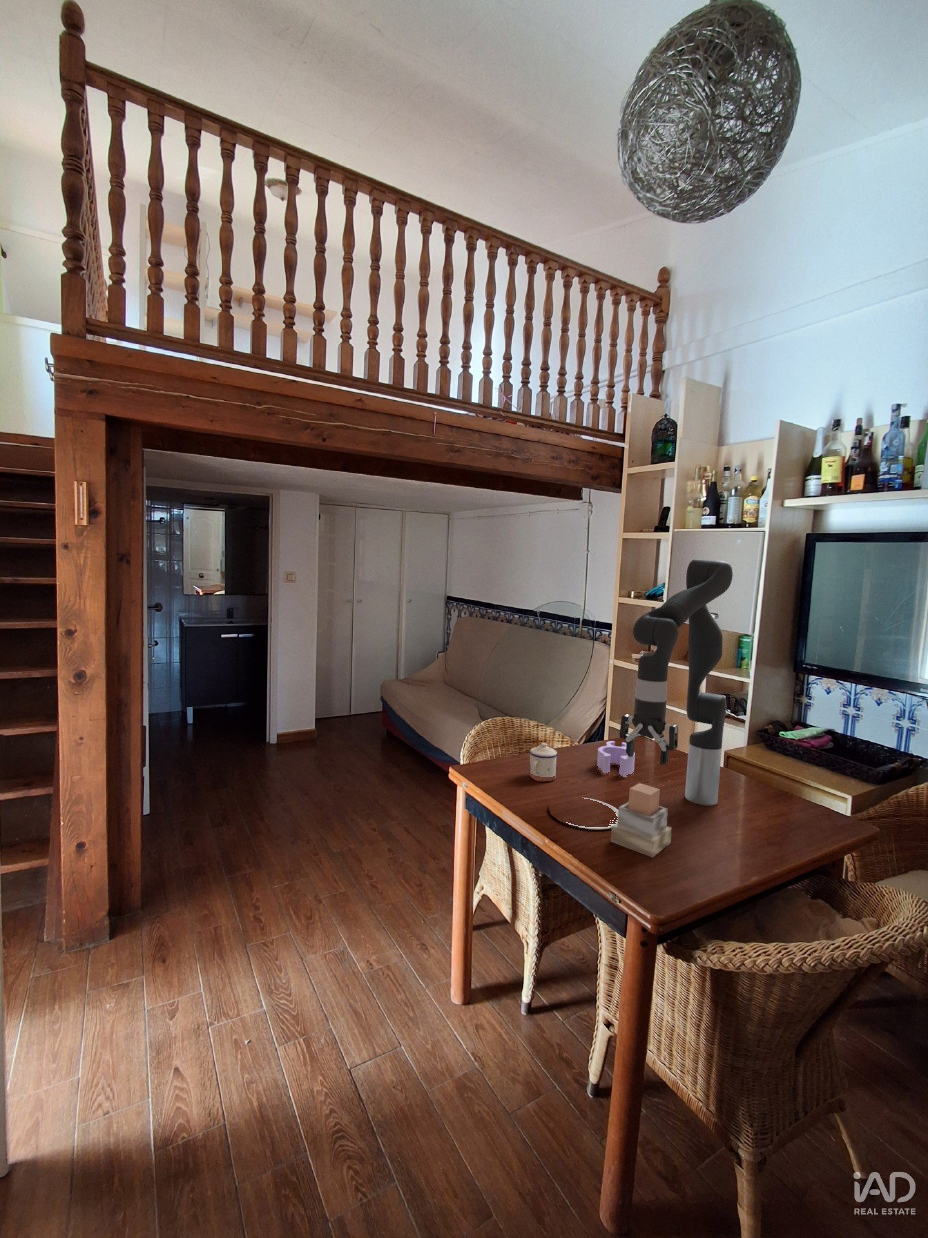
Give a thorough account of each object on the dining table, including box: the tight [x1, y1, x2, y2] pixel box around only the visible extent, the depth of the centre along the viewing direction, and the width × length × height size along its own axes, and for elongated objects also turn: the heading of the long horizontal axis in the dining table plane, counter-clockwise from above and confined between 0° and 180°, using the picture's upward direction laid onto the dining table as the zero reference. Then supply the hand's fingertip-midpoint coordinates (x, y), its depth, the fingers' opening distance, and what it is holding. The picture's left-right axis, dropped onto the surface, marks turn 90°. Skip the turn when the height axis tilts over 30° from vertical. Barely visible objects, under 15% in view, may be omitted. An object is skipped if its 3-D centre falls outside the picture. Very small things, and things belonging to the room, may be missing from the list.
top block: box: [628, 782, 661, 817], centre depth 141 cm, size 6×6×6 cm
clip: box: [596, 740, 636, 778], centre depth 198 cm, size 20×12×7 cm, turn 161°
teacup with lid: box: [528, 742, 558, 777], centre depth 183 cm, size 12×9×12 cm
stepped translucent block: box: [610, 801, 673, 859], centre depth 142 cm, size 11×11×9 cm
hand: (646, 760), depth 140 cm, fingers open, 8 cm apart
